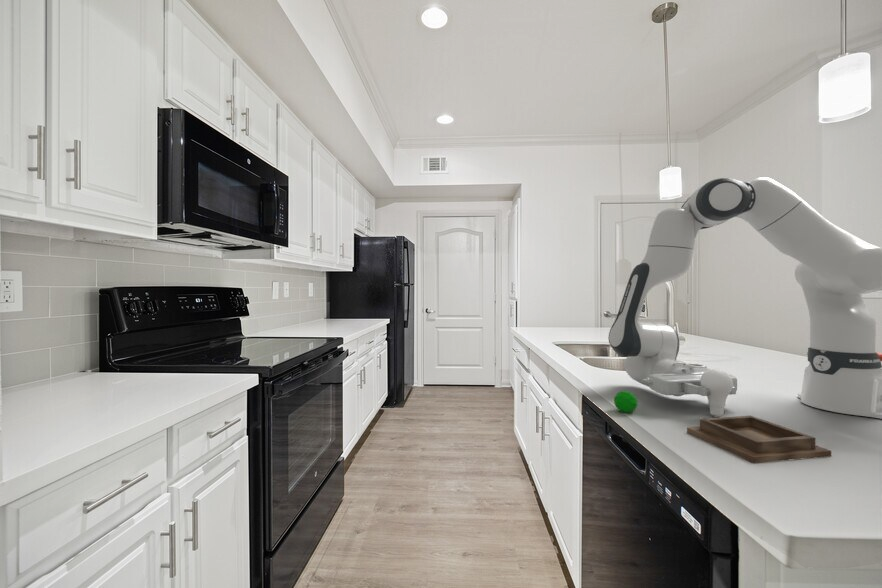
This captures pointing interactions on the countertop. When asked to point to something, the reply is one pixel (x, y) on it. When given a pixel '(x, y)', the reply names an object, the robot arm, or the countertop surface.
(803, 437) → the brown rimmed tray
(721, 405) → the lightbulb
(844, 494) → the countertop surface
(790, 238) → the robot arm
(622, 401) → the polyhedron
